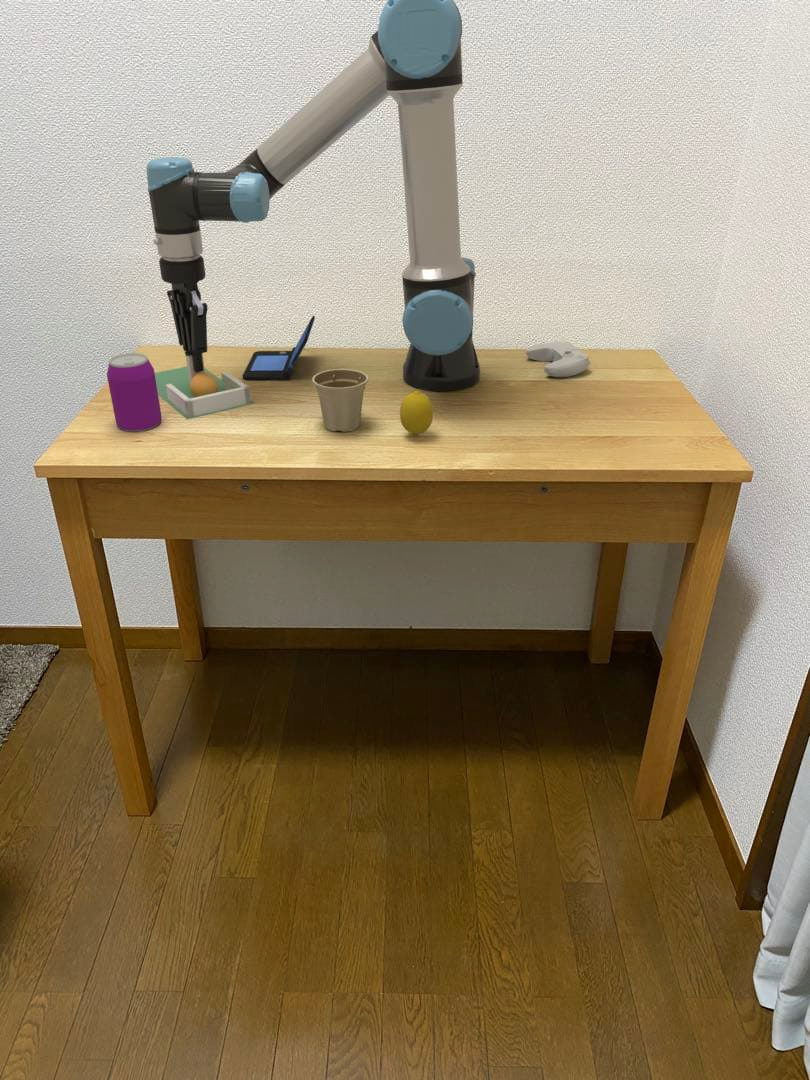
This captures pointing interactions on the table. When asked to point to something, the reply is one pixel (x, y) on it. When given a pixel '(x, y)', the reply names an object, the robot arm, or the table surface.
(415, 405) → the lemon
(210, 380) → the orange ball
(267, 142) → the robot arm
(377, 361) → the table surface
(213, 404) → the white u-shaped frame
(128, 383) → the beverage can
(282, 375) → the handheld game console
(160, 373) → the putting mat
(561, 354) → the game controller
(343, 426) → the flower pot
